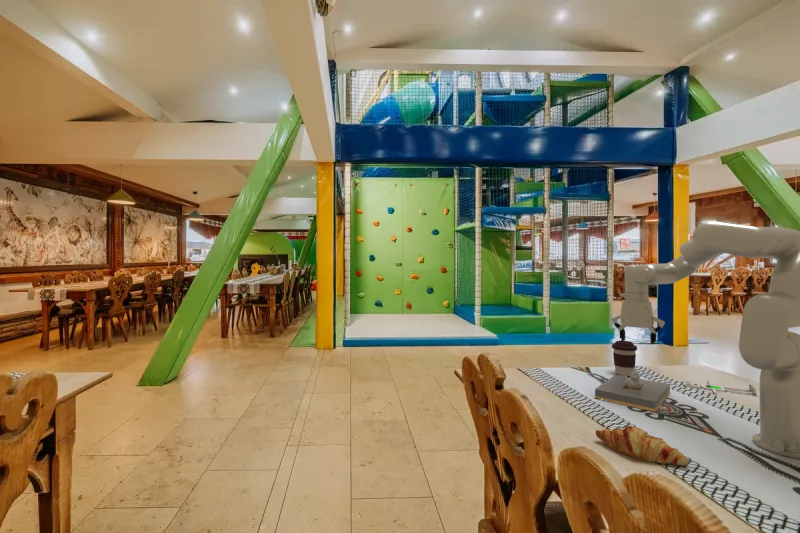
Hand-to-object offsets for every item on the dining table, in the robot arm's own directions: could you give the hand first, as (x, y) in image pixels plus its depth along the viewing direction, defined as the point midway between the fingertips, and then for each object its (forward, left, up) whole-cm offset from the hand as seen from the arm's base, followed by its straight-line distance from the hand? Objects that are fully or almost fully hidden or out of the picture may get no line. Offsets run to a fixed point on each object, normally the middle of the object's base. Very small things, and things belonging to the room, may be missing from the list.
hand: (637, 342), depth 142 cm
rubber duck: (0, +2, -18) cm, 18 cm away
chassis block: (0, +2, -21) cm, 21 cm away
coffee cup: (+29, +12, -21) cm, 37 cm away
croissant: (-50, -11, -21) cm, 55 cm away
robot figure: (+31, -21, -21) cm, 43 cm away
